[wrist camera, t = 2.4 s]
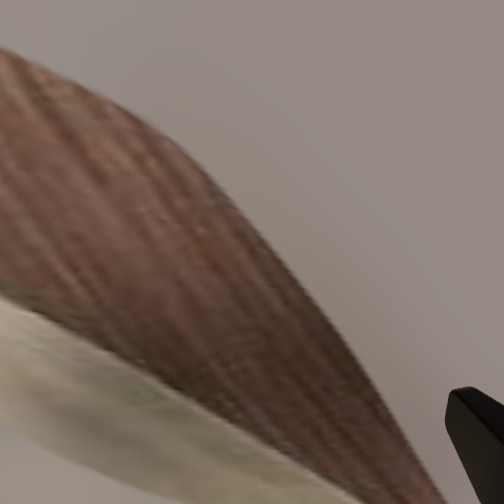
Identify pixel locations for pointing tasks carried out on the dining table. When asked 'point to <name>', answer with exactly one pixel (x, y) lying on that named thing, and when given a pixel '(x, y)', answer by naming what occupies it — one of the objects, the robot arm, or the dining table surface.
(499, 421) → the robot arm
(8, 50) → the dining table surface
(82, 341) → the dining table surface
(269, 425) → the dining table surface
